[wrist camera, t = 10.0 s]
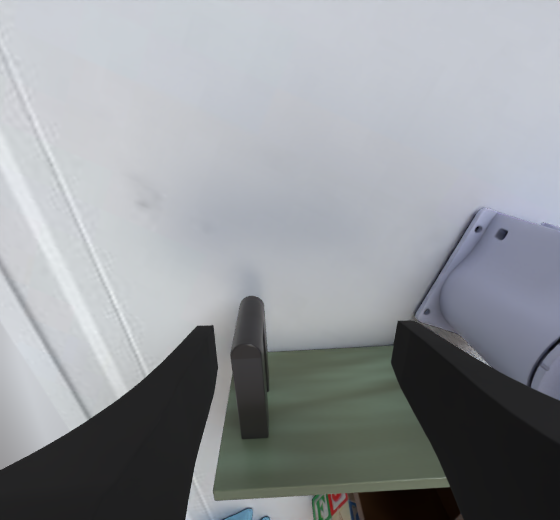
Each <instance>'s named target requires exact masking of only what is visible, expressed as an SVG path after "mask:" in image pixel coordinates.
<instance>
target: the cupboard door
mask: <svg viewBox="0 0 560 520" xmlns="http://www.w3.org/2000/svg"><path fill="white" fill-rule="evenodd" d="M393 346H394V345H393ZM393 346H375V347H356V348H337V349H319V350H300V351H281V352H267V339H266V325H265V311H264V303H263V302H262V300H261V299H260V298H258V297H256V296H248V297H246V298H244V299H243V300H242V301H241V303H240V308H239V313H238V318H237V323H236V329H235V334H234V339H233V344H232V349H231V363H232V371H233V374H232V380H231V386H230V392H229V398H228V404H227V410H226V416H225V422H224V427H223V433H222V439H221V445H220V451H219V457H218V463H217V469H216V475H215V481H214V487H213V494H214V499H215V501H220V500H237V499H254V498H271V497H289V496H306V495H323V494H340V493H357V492H374V491H391V490H409V489H426V488H443V487H450V485H449V483H448V481H447V478H446V476H445V474H444V471H443V469H442V467H441V464H440V462H439V460H438V457H437V455H436V453H435V451H434V449H433V447H432V445H431V443H430V442H429V440H428V438H427V436H426V434H425V432H424V431H423V429H422V427H421V425H420V423H419V421H418V420H417V418H416V416H415V414H414V412H413V410H412V409H411V407H410V405H409V403H408V401H407V399H406V397H405V395H404V394H403V392H402V390H401V388H400V386H399V383H398V381H397V378H396V376H395V373H394V370H393V367H392V365H391V358H392V352H393Z"/></svg>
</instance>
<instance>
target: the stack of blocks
mask: <svg viewBox="0 0 560 520" xmlns="http://www.w3.org/2000/svg"><path fill="white" fill-rule="evenodd" d="M312 507H313V518H314V520H360V519H359V515H358V511H357V507H356V502H355V498H354V494H353V493H340V494H323V495H316V496H315V497H314V498H313V499H312Z"/></svg>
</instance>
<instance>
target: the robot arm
mask: <svg viewBox="0 0 560 520" xmlns="http://www.w3.org/2000/svg"><path fill="white" fill-rule="evenodd" d="M477 226H479V228H478V230H477V231H475V228H476V227H477ZM426 309H428V310H427V311H426V312H424V311H425V310H426ZM415 317H416V319H417V320H418V321H419V322H422V323H425V324H428V325H431V326H435V327H438V328H441V329H444V330H447V331H451V332H454V333H457V334H460V335H461V336H462V337H463V338H464V339H465V340H466V341H467V342H468V344H469V345H470V346H471V347H472V348H473V349H474V350H475V351H476V352H477V353H478V354H479V355H480V356H481V357H482V358H483V359H484V360H485V361H486V362H487V363H488V364H489V365H490V366H491V367H490V366H488V365H486V364H484V363H483V362H481V361H479V360H477V359H476V358H474V357H472V356H471V355H469V354H467V353H466V352H464V351H462V350H461V349H459V348H457V347H456V346H454V345H453V344H451V343H449V342H448V341H446V340H445V339H443V338H442V337H440V336H438V335H437V334H435V333H434V332H432V331H430V330H429V329H427V328H426V327H424V326H422V325H421V324H419V323H417V322H415V321H398V323H397V329H396V335H395V341H394V346H393V352H392V358H391V365H392V367H393V370H394V373H395V376H396V378H397V381H398V383H399V386H400V388H401V390H402V392H403V394H404V395H405V397H406V399H407V401H408V403H409V405H410V407H411V409H412V410H413V412H414V414H415V416H416V418H417V420H418V421H419V423H420V425H421V427H422V429H423V431H424V432H425V434H426V436H427V438H428V440H429V442H430V443H431V445H432V447H433V449H434V451H435V453H436V455H437V457H438V460H439V462H440V464H441V467H442V469H443V471H444V474H445V476H446V478H447V481H448V483H449V485H450V488H451V490H452V492H453V495H454V497H455V500H456V502H457V505H458V507H459V510H460V512H461V515H462V517H463V520H560V227H557V226H554V225H551V224H548V223H544V222H543V223H541V225H539V224H535V223H532V222H529V221H526V220H522V219H519V218H516V217H513V216H509V215H506V214H503V213H500V212H497V211H494V210H492V209H489V208H482V209H481V210H479V211H478V212H477V214H476V216H475V217H474V219H473V221H472V222H471V224H470V226H469V227H468V229H467V230H466V232H465V234H464V235H463V237H462V239H461V240H460V242H459V244H458V245H457V247H456V248H455V250H454V252H453V253H452V255H451V257H450V258H449V260H448V262H447V263H446V265H445V267H444V268H443V270H442V271H441V273H440V275H439V276H438V278H437V280H436V281H435V283H434V285H433V286H432V288H431V289H430V291H429V293H428V294H427V296H426V298H425V299H424V301H423V303H422V304H421V306H420V308H419V309H418V311H417V312H416V315H415ZM217 370H218V364H217V355H216V345H215V336H214V327H213V325H211V326H197V327H196V328H195V329H194V330H193V331H192V332H191V333H190V334H189V335H188V336H187V337H186V338H185V339H184V340H183V341H182V343H181V344H180V345H179V346H178V347H177V348H176V349H175V350H174V351H173V352H172V353H171V354H170V355H169V356H168V357H167V358H166V359H165V360H164V361H163V362H162V363H161V364H160V365H159V366H158V367H157V368H155V369H154V370H153V371H152V372H151V373H150V374H149V375H148V376H147V377H146V378H144V379H143V380H142V381H141V382H140V383H139V384H137V385H136V386H135V387H134V388H132V389H131V390H130V391H129V392H127V393H126V394H125V395H123V396H122V397H121V398H120V399H118V400H117V401H115V402H114V403H113V404H111V405H110V406H108V407H107V408H105V409H104V410H102V411H101V412H100V413H98V414H97V415H95V416H94V417H92V418H91V419H89V420H88V421H86V422H85V423H83V424H82V425H80V426H79V427H77V428H75V429H74V430H72V431H70V432H69V433H67V434H66V435H64V436H62V437H61V438H59V439H57V440H55V441H54V442H52V443H50V444H48V445H47V446H45V447H43V448H42V449H40V450H38V451H36V452H34V453H32V454H31V455H29V456H27V457H25V458H23V459H21V460H19V461H17V462H15V463H13V464H12V465H9V466H7V467H6V468H4V469H2V470H0V520H185V517H186V511H187V505H188V499H189V494H190V488H191V483H192V477H193V472H194V466H195V462H196V458H197V454H198V450H199V446H200V443H201V439H202V435H203V432H204V428H205V425H206V421H207V417H208V414H209V410H210V406H211V403H212V399H213V395H214V390H215V384H216V377H217Z"/></svg>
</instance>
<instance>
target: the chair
mask: <svg viewBox="0 0 560 520" xmlns="http://www.w3.org/2000/svg"><path fill="white" fill-rule="evenodd" d="M252 513H253V511H252V509H246V510H244V511H242V512H240V513H238V514H236V515H233V516H231V517H229V518H226V519H224V520H252ZM261 520H270V518H269V517H264V518H263V519H261Z"/></svg>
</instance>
